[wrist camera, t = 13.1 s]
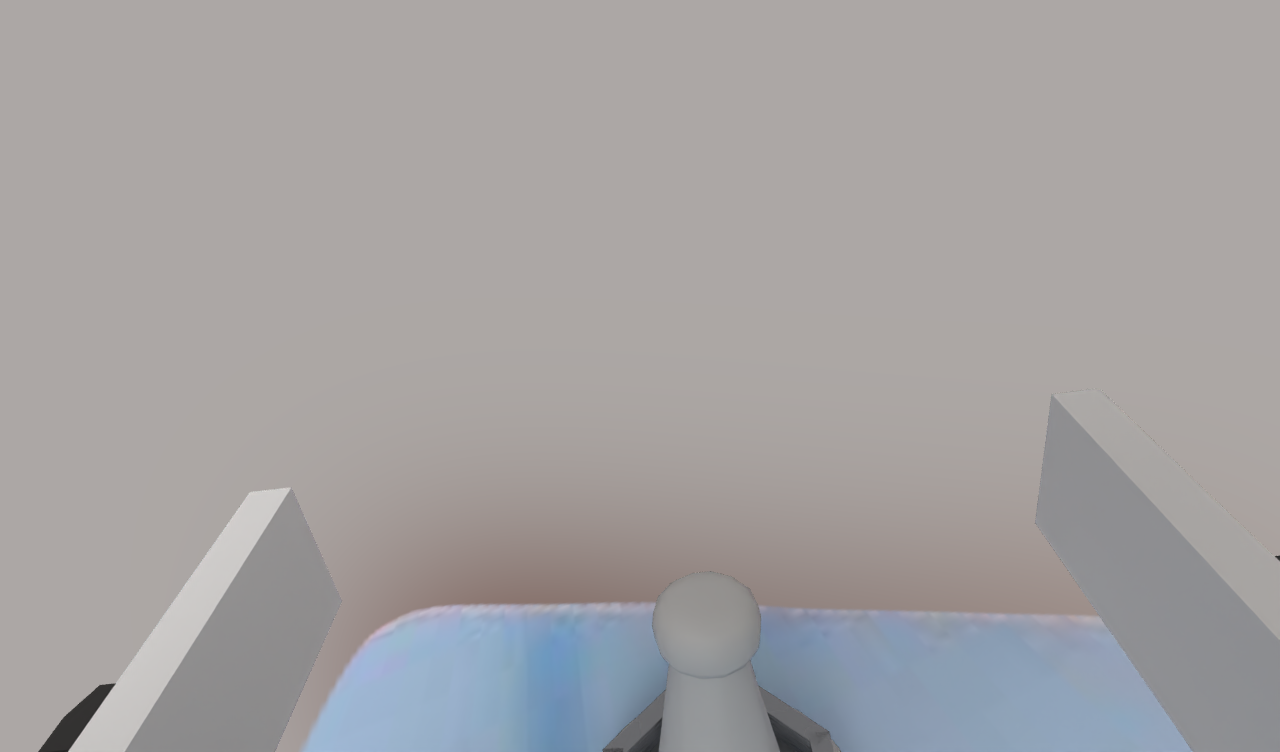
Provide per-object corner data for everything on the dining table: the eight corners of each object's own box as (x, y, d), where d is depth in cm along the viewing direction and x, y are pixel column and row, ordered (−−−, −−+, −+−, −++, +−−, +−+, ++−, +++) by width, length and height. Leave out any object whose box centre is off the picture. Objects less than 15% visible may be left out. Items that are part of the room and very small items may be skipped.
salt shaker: (781, 877, 34) (773, 666, 27) (651, 856, 35) (615, 651, 29) (788, 754, 39) (783, 552, 32) (674, 740, 40) (648, 544, 34)
